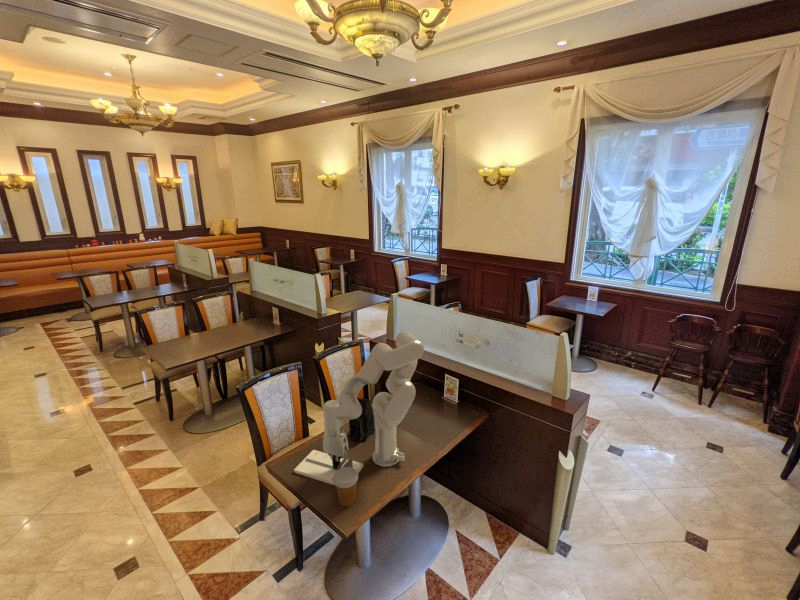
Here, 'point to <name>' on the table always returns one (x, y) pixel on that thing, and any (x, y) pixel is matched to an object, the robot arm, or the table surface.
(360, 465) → the fader console
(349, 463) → the fader knob
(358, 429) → the camera
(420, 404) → the table surface
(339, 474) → the disposable coffee cup
